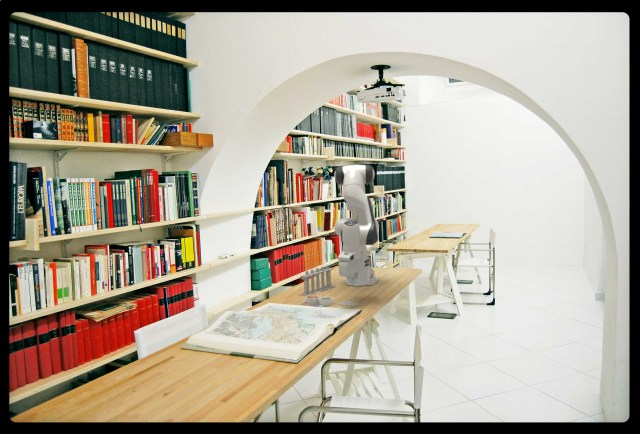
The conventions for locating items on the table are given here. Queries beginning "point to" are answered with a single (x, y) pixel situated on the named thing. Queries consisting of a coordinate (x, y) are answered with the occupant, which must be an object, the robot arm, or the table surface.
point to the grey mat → (348, 303)
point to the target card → (314, 304)
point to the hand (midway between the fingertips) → (352, 281)
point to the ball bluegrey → (353, 280)
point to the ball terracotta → (313, 296)
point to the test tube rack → (317, 280)
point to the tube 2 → (326, 301)
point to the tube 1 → (312, 300)
